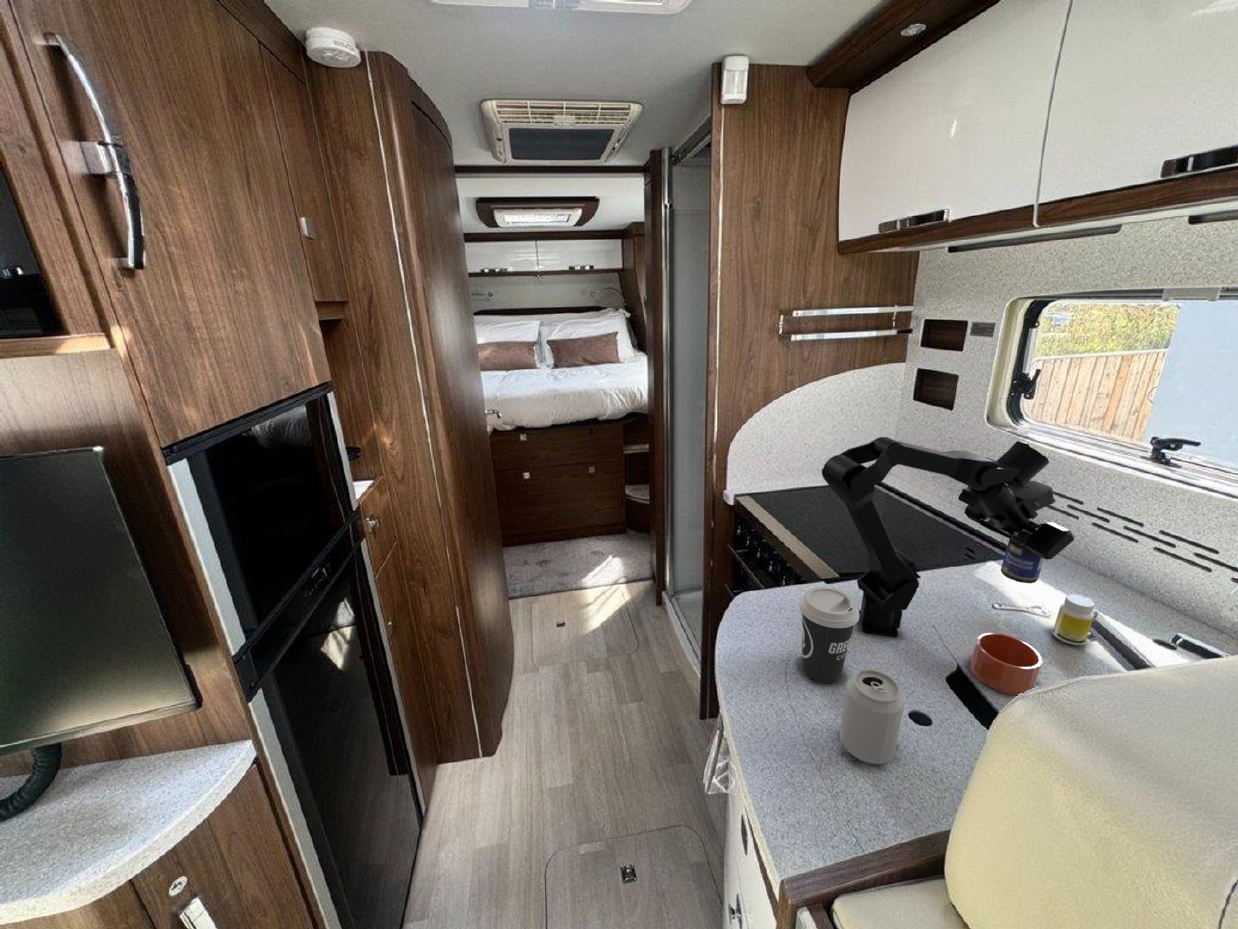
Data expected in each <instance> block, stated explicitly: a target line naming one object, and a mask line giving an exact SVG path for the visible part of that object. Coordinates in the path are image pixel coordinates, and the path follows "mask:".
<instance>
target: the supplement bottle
mask: <svg viewBox="0 0 1238 929" xmlns="http://www.w3.org/2000/svg"><path fill="white" fill-rule="evenodd" d="M1094 608H1095V603H1094V601H1093V600H1091V599H1089V598H1087V597H1085V596H1083V595H1078V594H1067V595H1066V597H1065V599H1064V602H1063V603H1062V604H1060V606H1059V610H1058V613H1057V616H1056V619H1055V622H1054V625H1053V629H1052V634H1053V636H1054V637H1056V638H1057V639H1058V640H1060V641H1061V642H1063V643H1065V644H1068V645H1072V646H1082V645H1084V644H1085V643H1086V642H1087V638H1088V635H1089V633H1090V629H1091V626H1092V624H1093V620H1094V617H1095V615H1094V610H1095V609H1094Z"/></svg>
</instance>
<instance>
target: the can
mask: <svg viewBox="0 0 1238 929" xmlns="http://www.w3.org/2000/svg"><path fill="white" fill-rule="evenodd" d="M905 703H906V702H905V696H904V694H903V692H902V688H901V686H900V684H899V683H898V682H897V680H895V679H894V678H893V677H891V676H890V675H889V674H888V673H885V672H884V671H881V670H877V669H873V668H863V669H858V670H857V671H855V673H854V674H853V675H851V677H849V679H848V680H847V682H846V687H845V692H844V701H843V708H842V715H841V721H840V728H839V739H840V742H841V744H842V746H843V747H844V748H845V750H846V751H847V752H848V753H850V754H851V755H852V756H853V757H854V758H856V759H857V760H860V761H861V762H864V763H867V764H870V765H882V764H888V763H889V762H890V761H892V760H893V758H894V756H895V753H896V749H897V745H898V739H899V734H900V729H901V724H902V719H903V715H904V709H905V705H906V704H905Z"/></svg>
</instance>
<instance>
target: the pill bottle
mask: <svg viewBox="0 0 1238 929" xmlns="http://www.w3.org/2000/svg"><path fill="white" fill-rule="evenodd" d="M1037 530H1038V529H1037ZM1028 537H1029V534H1027V533H1025V532H1023V531H1022V530H1021V532H1020V533H1019V534H1013V535H1012V536H1011V537H1010V538H1008V542H1007V546H1006V549H1005V552H1004V556H1003V560H1002V564H1001V567H1000V572H1001V574H1002V575H1003V576H1004V577H1006V578H1007V579H1009V580H1012V581H1015V582H1017V583H1022V584H1035V583H1036V582H1037V581H1038V580H1039V577H1040V574H1041V571H1042V568H1043V565H1044V561H1045V559H1044V558H1042V557H1040V556H1038V555H1036V554H1034V553H1032V552H1030V551H1028V550H1026V549H1024V548H1023V546H1024V545H1025V543H1026V540H1027V538H1028Z"/></svg>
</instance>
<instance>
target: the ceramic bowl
mask: <svg viewBox="0 0 1238 929" xmlns="http://www.w3.org/2000/svg"><path fill="white" fill-rule="evenodd" d="M1042 666H1043V658H1042V655H1041V654H1040V652H1039V651H1038V650H1037V649H1036V648H1034V647H1033V646H1032V645H1031V644H1029V643H1027V642H1025V641H1023V640H1021V639H1020V638H1017V637H1014V636H1012V635H1009V634H1004V633H998V632H985V633H982V634H979V635H978V636H977V638H976V639H975V644H974V647H973V651H972V656H971V659H970V670H971V672H972V673H973V675H974V676H975V677H976V678H977V679H978V680H979V681H980V682H982V683H983V684H985V685H986V686H987V687H990V688H991V689H993V690H996V691H998V692H1001V693H1005V694H1007V695H1013V696H1019V695H1018V694H1020V693H1024V692H1025V691H1027V690H1030V689H1032V688H1034V689H1035V688H1036V684H1037V683H1038V682H1037V681H1038V680H1039V675H1040V672H1041V668H1042Z"/></svg>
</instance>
